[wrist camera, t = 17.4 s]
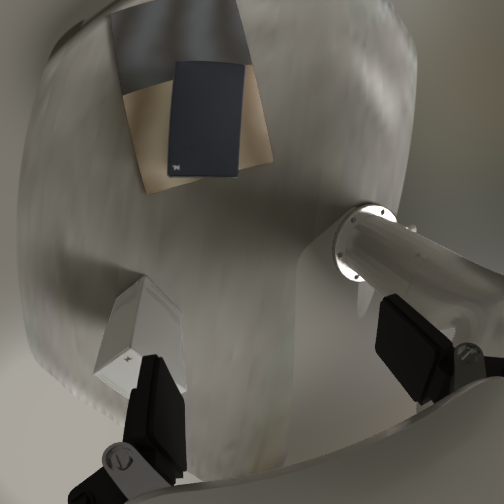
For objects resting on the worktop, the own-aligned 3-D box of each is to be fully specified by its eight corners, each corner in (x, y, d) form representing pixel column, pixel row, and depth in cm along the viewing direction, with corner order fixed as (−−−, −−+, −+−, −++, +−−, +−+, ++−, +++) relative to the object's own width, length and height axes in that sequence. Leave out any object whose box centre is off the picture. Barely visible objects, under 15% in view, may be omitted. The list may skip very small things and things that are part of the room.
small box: (226, 171, 33) (241, 181, 23) (172, 170, 31) (163, 180, 22) (232, 87, 29) (249, 62, 20) (177, 85, 28) (172, 59, 18)
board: (230, -10, 24) (231, -13, 23) (271, 161, 34) (273, 162, 34) (112, 17, 22) (110, 14, 21) (148, 194, 33) (146, 195, 32)
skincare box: (115, 296, 36) (87, 372, 22) (147, 271, 36) (127, 344, 22) (153, 334, 40) (146, 414, 26) (185, 312, 40) (189, 393, 25)
